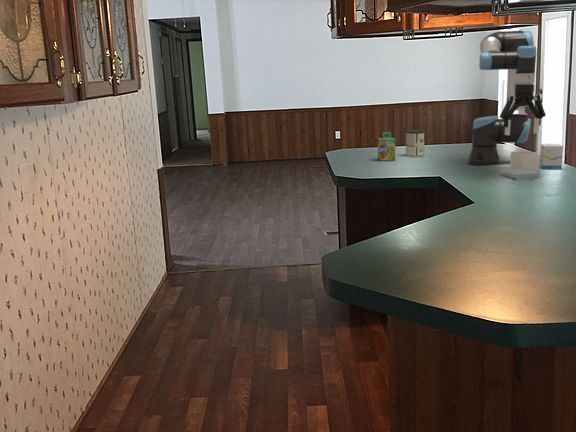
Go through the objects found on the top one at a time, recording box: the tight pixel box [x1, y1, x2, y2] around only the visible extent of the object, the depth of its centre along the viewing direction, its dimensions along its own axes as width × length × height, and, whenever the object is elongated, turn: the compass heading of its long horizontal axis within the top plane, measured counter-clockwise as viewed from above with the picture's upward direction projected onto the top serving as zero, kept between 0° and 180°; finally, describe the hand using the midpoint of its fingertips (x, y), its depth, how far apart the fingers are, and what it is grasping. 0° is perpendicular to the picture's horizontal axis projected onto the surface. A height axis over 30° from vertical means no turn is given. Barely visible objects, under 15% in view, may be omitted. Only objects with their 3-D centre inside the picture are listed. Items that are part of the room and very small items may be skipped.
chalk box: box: [377, 131, 397, 162], centre depth 333 cm, size 9×9×15 cm
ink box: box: [539, 143, 564, 171], centre depth 291 cm, size 9×8×12 cm
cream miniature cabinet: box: [405, 129, 426, 158], centre depth 346 cm, size 10×10×14 cm
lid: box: [498, 169, 541, 181], centre depth 273 cm, size 12×12×3 cm
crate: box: [509, 150, 540, 173], centre depth 285 cm, size 10×8×9 cm
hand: (521, 134), depth 269 cm, fingers open, 13 cm apart
